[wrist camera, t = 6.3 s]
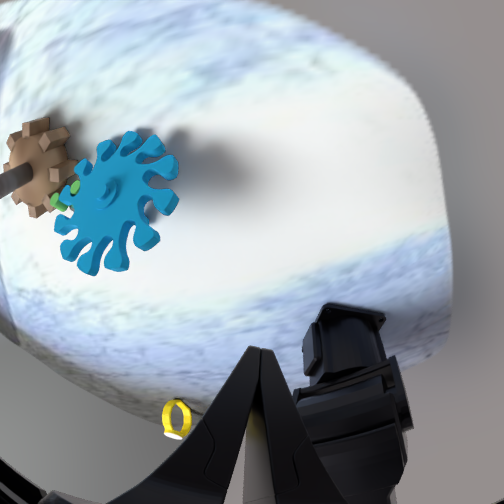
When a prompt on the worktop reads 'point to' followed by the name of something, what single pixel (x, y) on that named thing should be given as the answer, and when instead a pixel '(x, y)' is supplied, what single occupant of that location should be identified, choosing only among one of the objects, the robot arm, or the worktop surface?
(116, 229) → the gear
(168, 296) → the worktop surface
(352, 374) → the robot arm
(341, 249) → the worktop surface
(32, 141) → the gear
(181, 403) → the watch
